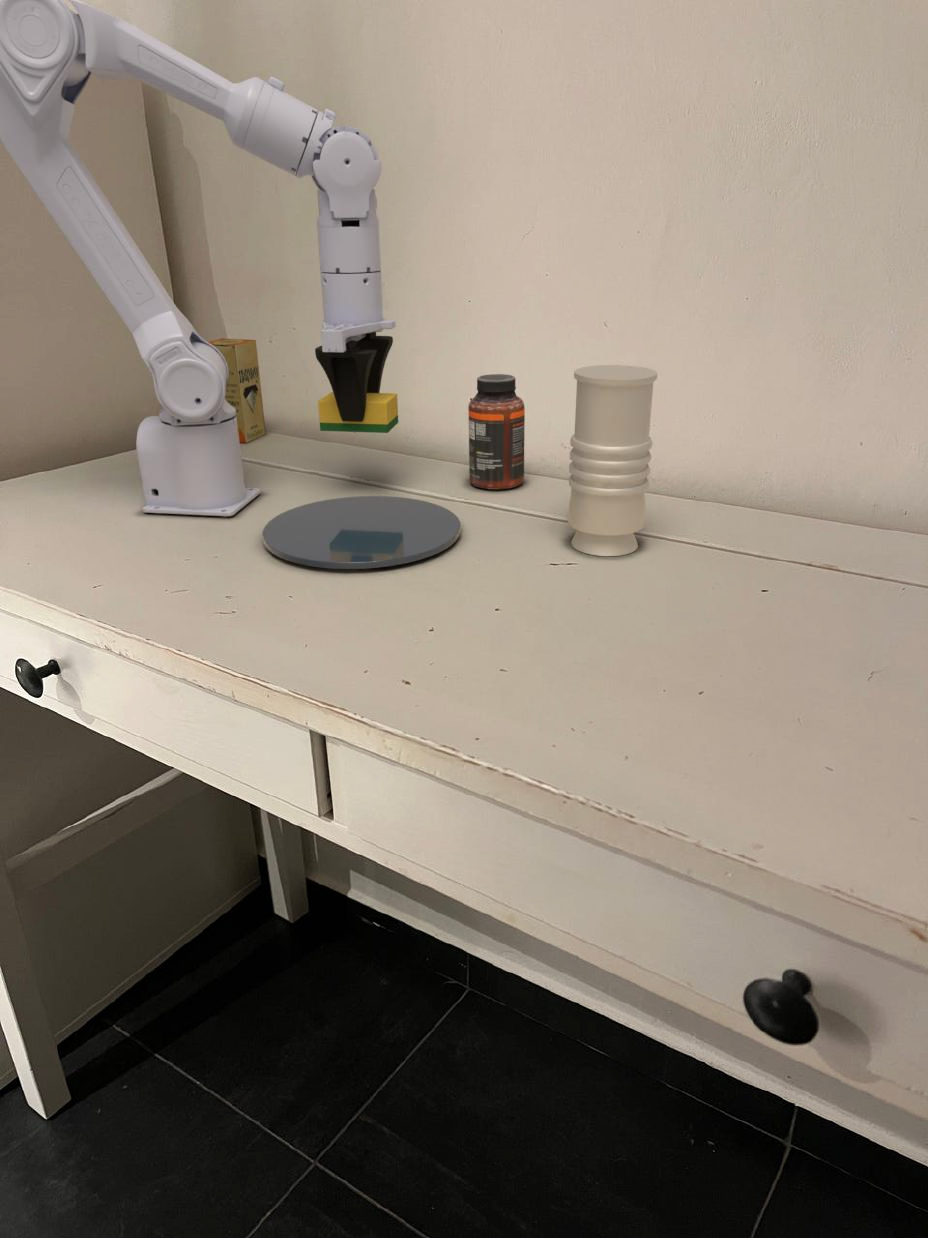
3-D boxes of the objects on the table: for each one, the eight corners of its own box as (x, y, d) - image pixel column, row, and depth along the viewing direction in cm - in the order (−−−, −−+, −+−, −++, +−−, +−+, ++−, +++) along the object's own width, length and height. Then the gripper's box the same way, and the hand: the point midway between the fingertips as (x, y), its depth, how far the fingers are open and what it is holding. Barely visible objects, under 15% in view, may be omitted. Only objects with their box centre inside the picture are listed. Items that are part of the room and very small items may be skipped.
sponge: (320, 430, 89) (317, 400, 87) (333, 420, 93) (331, 391, 91) (387, 433, 87) (386, 402, 86) (398, 422, 91) (397, 393, 90)
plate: (231, 567, 75) (230, 556, 74) (301, 501, 91) (300, 492, 90) (440, 579, 72) (440, 567, 71) (474, 509, 88) (474, 499, 87)
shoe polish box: (212, 440, 114) (199, 343, 109) (233, 431, 118) (221, 338, 113) (246, 443, 113) (234, 345, 107) (265, 433, 117) (255, 339, 112)
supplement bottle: (525, 476, 98) (527, 371, 93) (522, 492, 93) (525, 382, 88) (471, 475, 99) (470, 371, 94) (466, 491, 93) (465, 381, 88)
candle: (658, 542, 79) (674, 371, 72) (614, 564, 74) (627, 383, 68) (595, 525, 83) (605, 362, 77) (550, 545, 79) (556, 373, 72)
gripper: (371, 278, 77) (379, 433, 82) (409, 265, 89) (413, 401, 95) (294, 277, 78) (307, 431, 83) (342, 265, 90) (350, 399, 96)
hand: (359, 415), depth 89 cm, fingers closed on sponge, 4 cm apart
